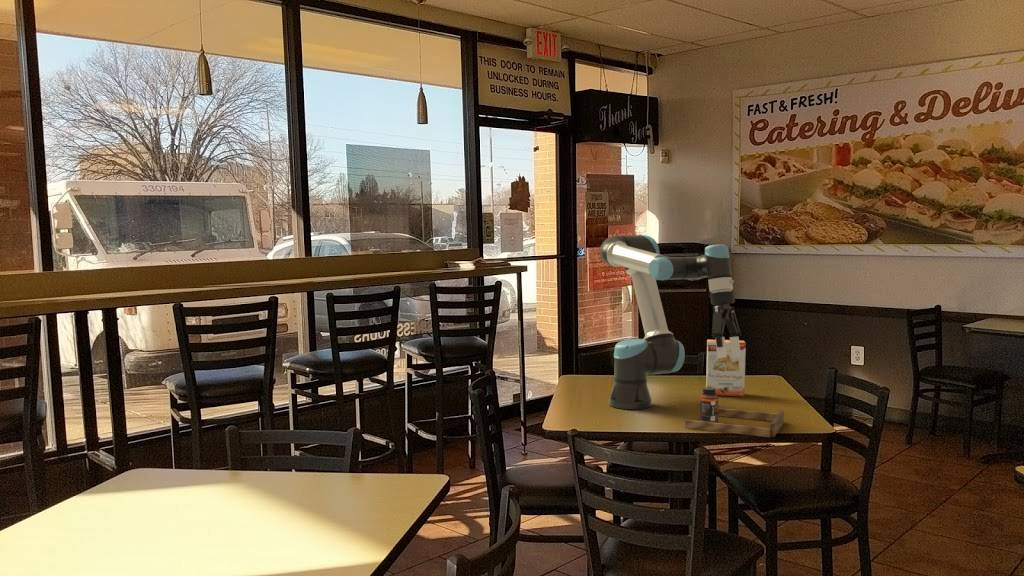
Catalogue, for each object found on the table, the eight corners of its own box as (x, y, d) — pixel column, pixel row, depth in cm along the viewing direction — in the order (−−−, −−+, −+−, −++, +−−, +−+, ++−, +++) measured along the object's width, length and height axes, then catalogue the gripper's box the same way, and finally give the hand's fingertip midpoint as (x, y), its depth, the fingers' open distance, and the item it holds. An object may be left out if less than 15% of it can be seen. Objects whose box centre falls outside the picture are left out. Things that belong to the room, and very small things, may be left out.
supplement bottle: (718, 424, 256) (719, 390, 255) (699, 424, 257) (700, 389, 256) (717, 420, 262) (718, 386, 261) (699, 419, 263) (699, 386, 262)
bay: (685, 428, 252) (685, 415, 251) (701, 413, 271) (701, 402, 271) (774, 437, 240) (774, 424, 239) (784, 421, 259) (784, 409, 259)
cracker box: (706, 395, 300) (707, 341, 299) (705, 392, 306) (706, 339, 305) (745, 397, 298) (746, 342, 296) (743, 393, 304) (744, 339, 302)
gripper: (719, 288, 245) (727, 357, 242) (745, 291, 265) (753, 355, 263) (696, 291, 249) (704, 359, 246) (723, 294, 269) (731, 357, 267)
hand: (729, 357), depth 255 cm, fingers open, 13 cm apart
